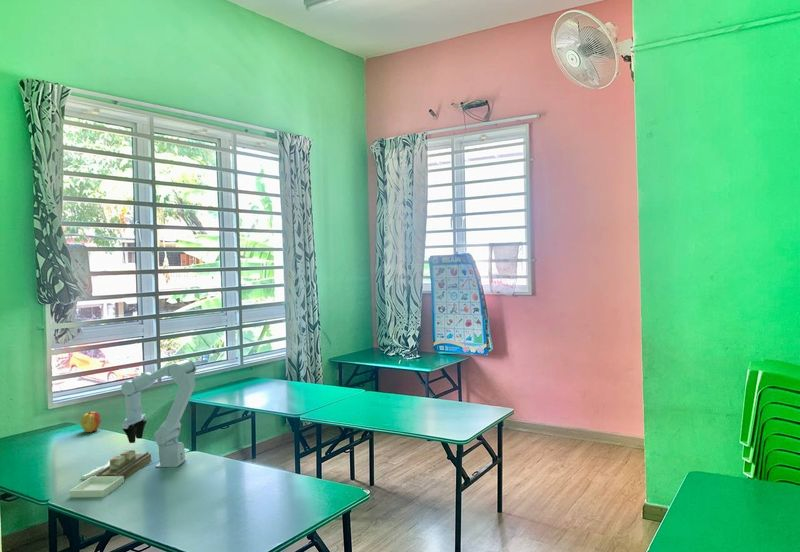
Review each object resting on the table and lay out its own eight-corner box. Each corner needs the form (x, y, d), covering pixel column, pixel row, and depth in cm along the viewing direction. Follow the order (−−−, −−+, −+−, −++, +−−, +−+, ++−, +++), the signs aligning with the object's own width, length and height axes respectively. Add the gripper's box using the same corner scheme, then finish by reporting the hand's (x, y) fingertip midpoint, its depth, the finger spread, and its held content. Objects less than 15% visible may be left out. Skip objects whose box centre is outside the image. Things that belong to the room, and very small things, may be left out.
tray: (124, 482, 219) (123, 475, 218) (103, 497, 206) (103, 490, 206) (92, 482, 220) (91, 476, 220) (69, 497, 207) (69, 490, 207)
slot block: (151, 460, 241) (150, 451, 241) (121, 481, 219) (120, 472, 219) (128, 460, 242) (128, 452, 242) (96, 482, 220) (96, 472, 220)
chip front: (125, 465, 228) (124, 455, 228) (119, 469, 224) (119, 459, 224) (116, 465, 229) (115, 455, 229) (110, 469, 225) (109, 459, 225)
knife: (119, 451, 254) (134, 451, 252) (119, 455, 254) (135, 455, 252) (68, 476, 224) (86, 476, 223) (68, 480, 224) (86, 480, 223)
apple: (101, 431, 286) (100, 412, 286) (81, 435, 282) (79, 415, 281) (101, 427, 294) (99, 408, 294) (81, 430, 290) (79, 411, 289)
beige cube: (135, 459, 234) (135, 450, 234) (130, 463, 230) (129, 453, 230) (126, 460, 235) (125, 450, 234) (120, 463, 231) (120, 453, 230)
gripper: (134, 404, 246) (136, 435, 247) (114, 413, 232) (116, 446, 232) (149, 403, 245) (151, 434, 246) (130, 413, 231) (133, 446, 232)
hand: (135, 440), depth 239 cm, fingers open, 5 cm apart
